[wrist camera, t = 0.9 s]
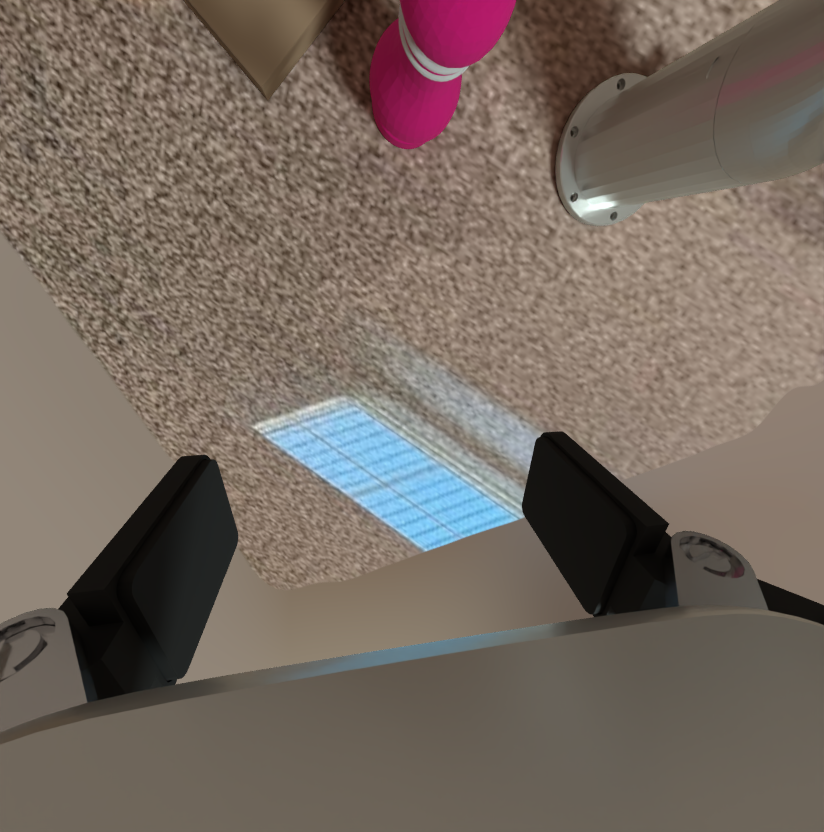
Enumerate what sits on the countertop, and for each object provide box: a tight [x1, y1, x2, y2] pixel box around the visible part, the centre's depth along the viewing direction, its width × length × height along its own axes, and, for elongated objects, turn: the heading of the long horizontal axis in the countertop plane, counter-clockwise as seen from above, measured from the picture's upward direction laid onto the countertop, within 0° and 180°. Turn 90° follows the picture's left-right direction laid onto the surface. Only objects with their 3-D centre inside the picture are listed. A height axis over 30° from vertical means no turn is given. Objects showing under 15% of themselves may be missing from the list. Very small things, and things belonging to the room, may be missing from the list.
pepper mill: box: [369, 0, 516, 149], centre depth 21 cm, size 7×7×20 cm
